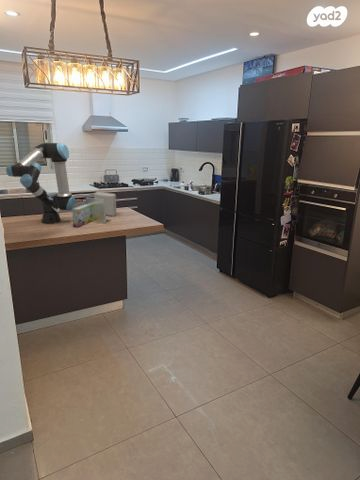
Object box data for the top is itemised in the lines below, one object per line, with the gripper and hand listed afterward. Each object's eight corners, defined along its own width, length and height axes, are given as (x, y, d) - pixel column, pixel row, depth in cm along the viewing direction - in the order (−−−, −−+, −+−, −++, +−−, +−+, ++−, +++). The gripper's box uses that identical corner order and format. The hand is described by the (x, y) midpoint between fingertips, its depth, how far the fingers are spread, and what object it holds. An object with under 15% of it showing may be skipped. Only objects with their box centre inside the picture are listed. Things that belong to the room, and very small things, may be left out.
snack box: (79, 227, 262) (77, 209, 258) (72, 227, 264) (71, 208, 259) (91, 221, 282) (90, 204, 277) (86, 220, 283) (84, 203, 279)
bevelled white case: (118, 215, 306) (117, 193, 300) (112, 216, 299) (112, 195, 293) (99, 212, 314) (98, 191, 308) (94, 214, 307) (93, 192, 301)
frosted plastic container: (87, 220, 284) (85, 197, 278) (93, 218, 292) (92, 196, 286) (104, 223, 277) (103, 199, 271) (110, 220, 285) (109, 198, 279)
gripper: (29, 195, 226) (49, 214, 246) (43, 197, 222) (63, 216, 241) (34, 187, 229) (54, 205, 249) (48, 188, 224) (67, 207, 244)
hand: (58, 210), depth 245 cm, fingers closed
